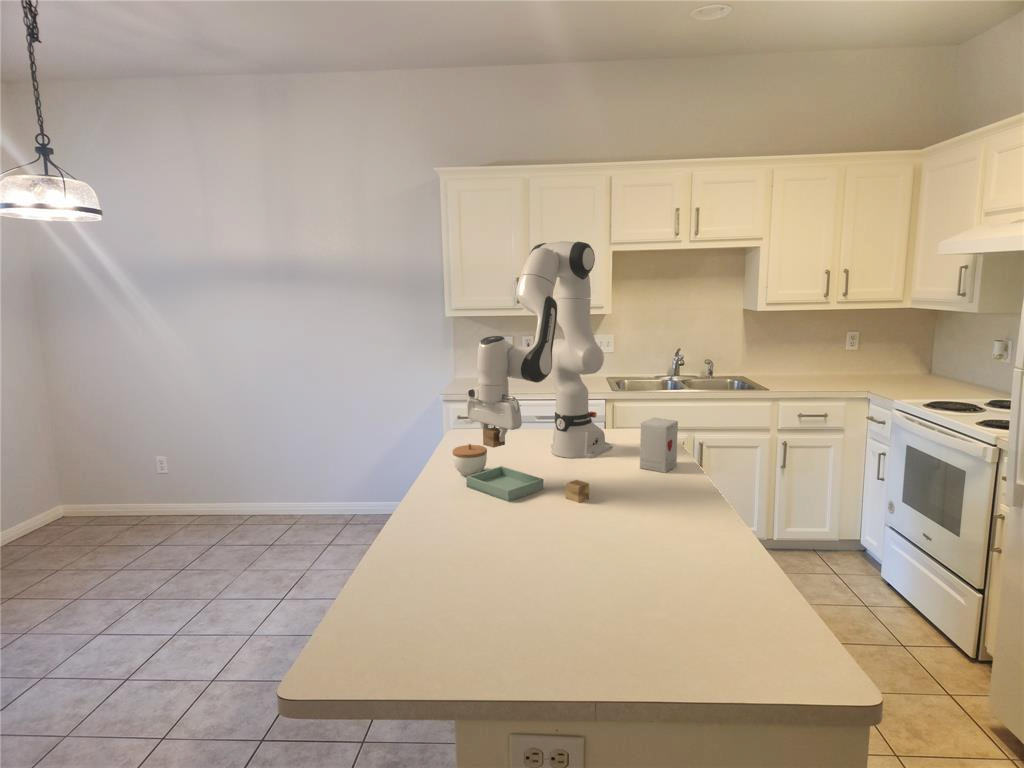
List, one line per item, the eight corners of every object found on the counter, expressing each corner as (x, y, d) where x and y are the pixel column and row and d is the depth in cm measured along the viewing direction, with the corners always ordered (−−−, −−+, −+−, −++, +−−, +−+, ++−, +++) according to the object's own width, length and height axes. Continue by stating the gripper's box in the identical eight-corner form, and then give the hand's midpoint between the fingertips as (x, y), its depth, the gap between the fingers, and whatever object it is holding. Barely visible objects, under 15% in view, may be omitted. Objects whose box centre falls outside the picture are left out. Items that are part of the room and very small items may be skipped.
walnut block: (494, 441, 193) (494, 427, 192) (504, 444, 190) (504, 429, 189) (483, 444, 190) (482, 429, 189) (493, 447, 187) (493, 432, 186)
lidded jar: (489, 468, 208) (488, 440, 207) (485, 479, 198) (484, 449, 196) (456, 467, 209) (455, 439, 208) (450, 478, 199) (449, 449, 197)
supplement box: (665, 473, 200) (666, 426, 197) (638, 468, 205) (639, 422, 202) (677, 466, 207) (678, 420, 204) (651, 461, 212) (652, 416, 209)
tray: (501, 475, 200) (501, 466, 200) (543, 489, 188) (543, 479, 187) (466, 486, 191) (466, 476, 190) (508, 501, 178) (508, 491, 178)
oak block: (576, 494, 183) (576, 479, 182) (588, 498, 180) (588, 483, 179) (565, 499, 180) (565, 483, 179) (578, 503, 177) (578, 487, 176)
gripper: (526, 396, 182) (526, 443, 184) (478, 387, 197) (480, 431, 199) (510, 399, 178) (510, 448, 180) (462, 390, 192) (464, 435, 195)
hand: (494, 439), depth 190 cm, fingers closed on walnut block, 4 cm apart
